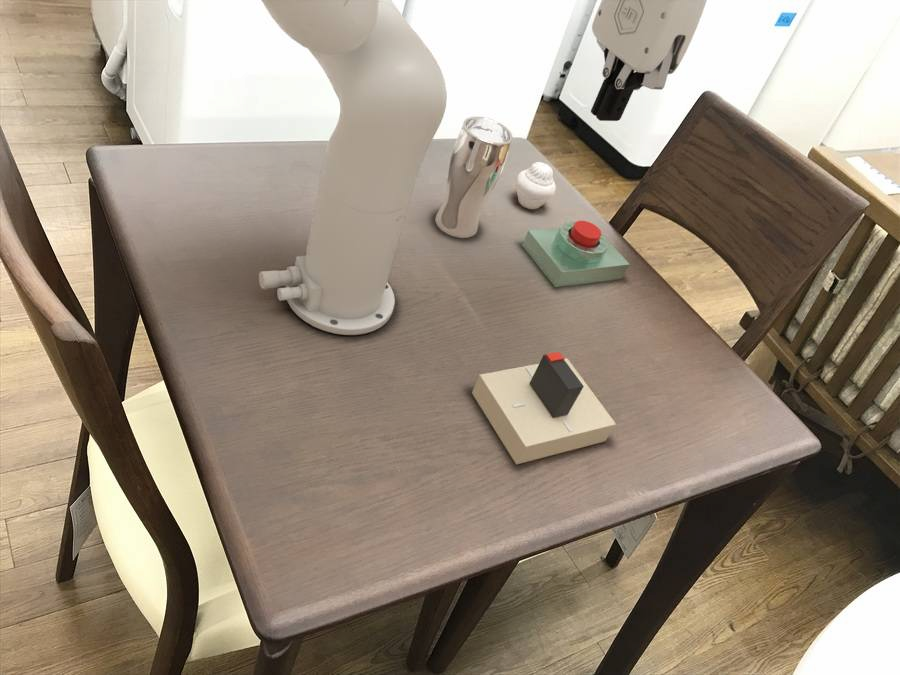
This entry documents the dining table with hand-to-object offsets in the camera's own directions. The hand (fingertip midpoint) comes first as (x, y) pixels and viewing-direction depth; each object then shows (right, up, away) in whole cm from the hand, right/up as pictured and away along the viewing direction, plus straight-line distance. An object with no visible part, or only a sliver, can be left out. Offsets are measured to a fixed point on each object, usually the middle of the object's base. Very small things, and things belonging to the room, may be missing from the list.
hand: (604, 116), depth 85 cm
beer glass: (-16, -9, +23) cm, 29 cm away
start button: (+1, -11, +21) cm, 24 cm away
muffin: (-5, -4, +32) cm, 33 cm away
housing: (0, -14, +24) cm, 27 cm away
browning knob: (-7, -31, -3) cm, 32 cm away
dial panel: (-7, -33, -1) cm, 34 cm away
